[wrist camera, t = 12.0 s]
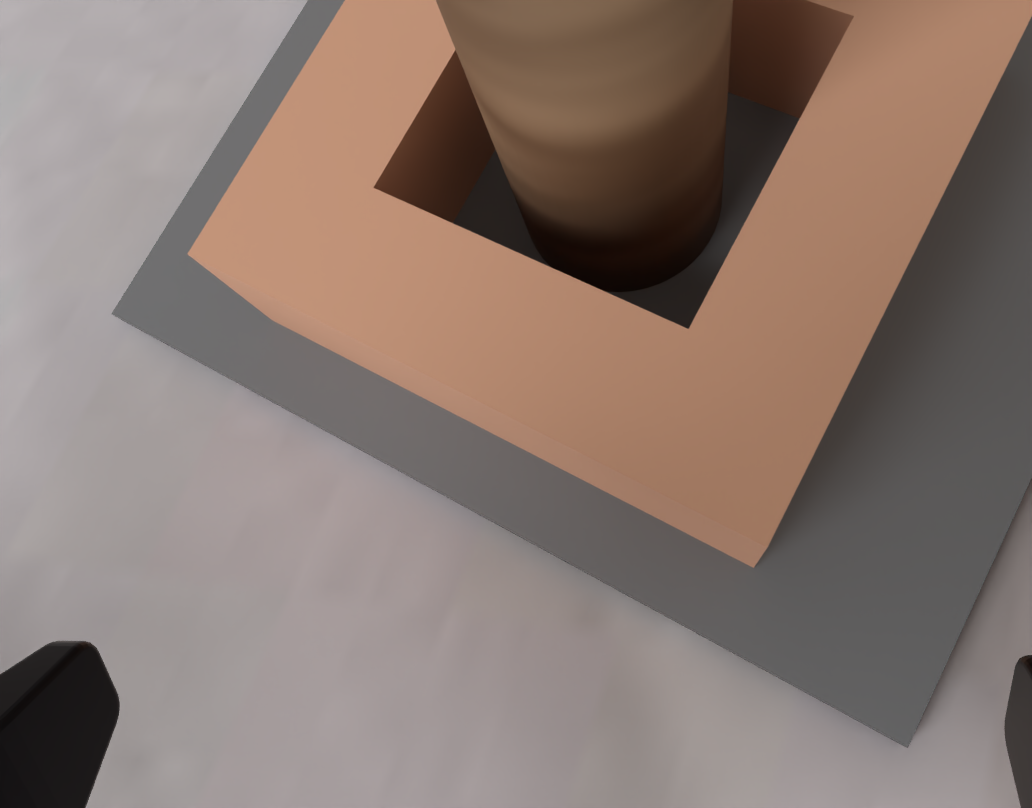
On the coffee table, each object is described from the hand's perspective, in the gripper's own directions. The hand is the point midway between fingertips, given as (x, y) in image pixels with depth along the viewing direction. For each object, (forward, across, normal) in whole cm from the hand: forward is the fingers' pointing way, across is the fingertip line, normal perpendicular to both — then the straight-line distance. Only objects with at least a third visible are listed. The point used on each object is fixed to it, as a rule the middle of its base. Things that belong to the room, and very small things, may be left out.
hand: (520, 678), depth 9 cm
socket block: (+12, 0, -1) cm, 12 cm away
